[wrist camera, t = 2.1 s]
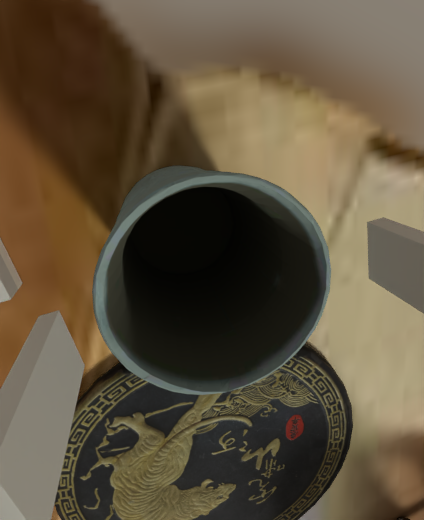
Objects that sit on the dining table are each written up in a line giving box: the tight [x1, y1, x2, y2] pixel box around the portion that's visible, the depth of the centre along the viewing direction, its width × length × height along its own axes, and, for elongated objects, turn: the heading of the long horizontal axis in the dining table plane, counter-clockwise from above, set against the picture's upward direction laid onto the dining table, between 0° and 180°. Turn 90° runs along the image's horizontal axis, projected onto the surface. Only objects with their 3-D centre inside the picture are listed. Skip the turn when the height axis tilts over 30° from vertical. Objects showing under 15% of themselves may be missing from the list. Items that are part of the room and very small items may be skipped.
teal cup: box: [92, 166, 331, 395], centre depth 19 cm, size 10×10×12 cm
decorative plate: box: [55, 344, 353, 520], centre depth 33 cm, size 30×2×30 cm
